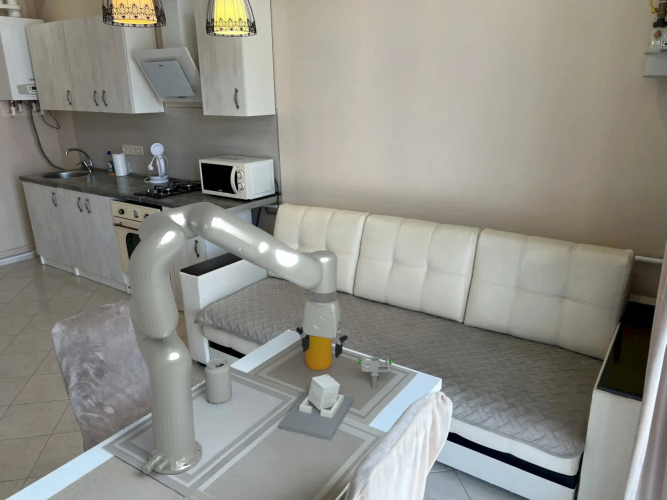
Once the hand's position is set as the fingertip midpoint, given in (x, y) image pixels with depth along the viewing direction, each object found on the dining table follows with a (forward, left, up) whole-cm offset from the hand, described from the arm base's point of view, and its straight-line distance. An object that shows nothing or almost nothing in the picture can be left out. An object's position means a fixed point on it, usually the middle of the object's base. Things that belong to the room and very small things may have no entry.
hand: (321, 352), depth 138 cm
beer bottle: (+25, +11, -18) cm, 33 cm away
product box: (0, 0, -16) cm, 16 cm away
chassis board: (-3, 0, -18) cm, 18 cm away
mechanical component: (+17, -11, -18) cm, 27 cm away
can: (-6, +31, -18) cm, 36 cm away
